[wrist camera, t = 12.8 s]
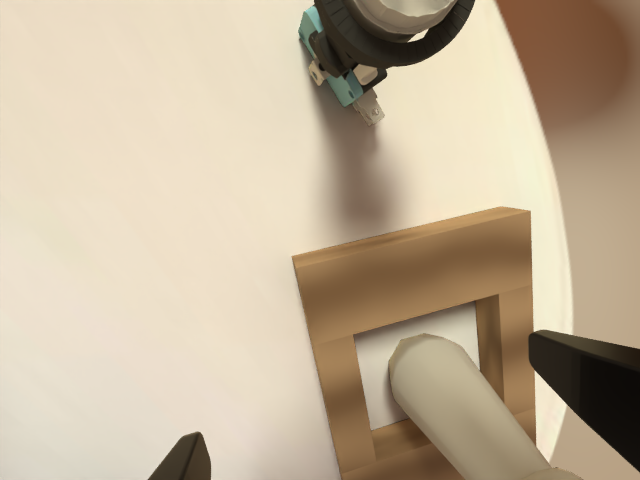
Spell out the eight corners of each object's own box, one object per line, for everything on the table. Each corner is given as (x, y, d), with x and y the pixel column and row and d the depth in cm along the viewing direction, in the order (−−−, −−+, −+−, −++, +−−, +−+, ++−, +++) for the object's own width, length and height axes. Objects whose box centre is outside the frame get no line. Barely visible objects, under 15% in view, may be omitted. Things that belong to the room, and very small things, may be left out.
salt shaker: (455, 320, 23) (680, 493, 11) (447, 388, 25) (639, 613, 12) (381, 325, 22) (536, 522, 10) (375, 396, 24) (507, 651, 11)
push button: (404, 99, 19) (548, 28, 10) (334, 150, 19) (409, 130, 9) (345, -10, 17) (452, -232, 8) (267, 46, 17) (276, -111, 8)
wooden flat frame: (511, 434, 27) (536, 460, 25) (344, 493, 25) (353, 527, 22) (501, 206, 22) (530, 210, 20) (291, 256, 20) (296, 268, 18)
